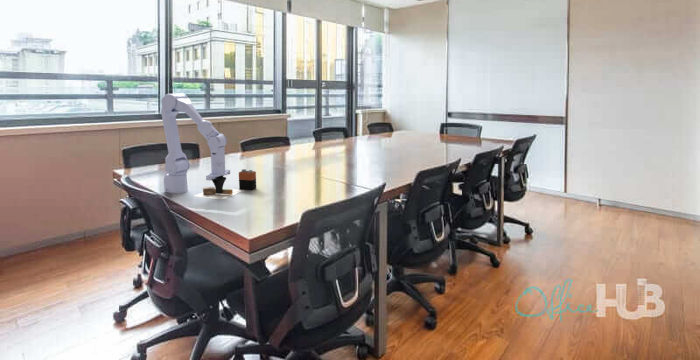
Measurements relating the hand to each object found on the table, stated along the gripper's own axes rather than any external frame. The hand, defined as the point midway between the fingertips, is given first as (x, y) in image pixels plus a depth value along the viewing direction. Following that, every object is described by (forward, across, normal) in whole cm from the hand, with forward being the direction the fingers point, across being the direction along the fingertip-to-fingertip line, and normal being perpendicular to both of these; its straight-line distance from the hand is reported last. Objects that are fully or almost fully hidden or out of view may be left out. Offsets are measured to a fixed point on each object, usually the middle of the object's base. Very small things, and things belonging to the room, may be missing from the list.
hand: (219, 193), depth 186 cm
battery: (+2, +14, -5) cm, 16 cm away
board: (+2, +3, +2) cm, 4 cm away
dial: (+1, +1, +1) cm, 2 cm away
